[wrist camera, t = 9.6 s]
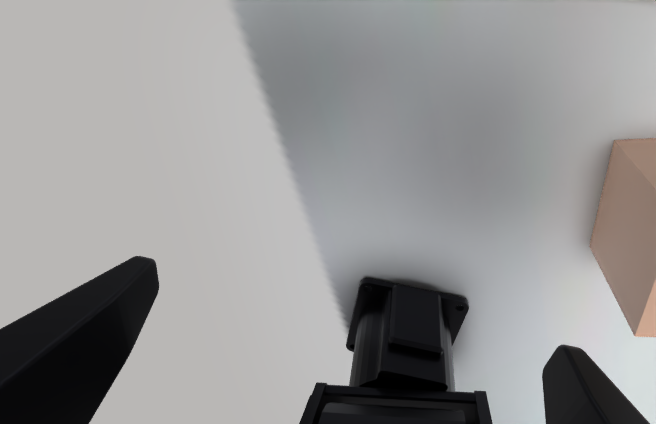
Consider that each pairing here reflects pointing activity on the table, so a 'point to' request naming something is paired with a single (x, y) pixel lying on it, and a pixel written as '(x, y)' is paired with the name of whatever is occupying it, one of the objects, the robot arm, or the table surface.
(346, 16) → the table surface
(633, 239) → the clay cube
